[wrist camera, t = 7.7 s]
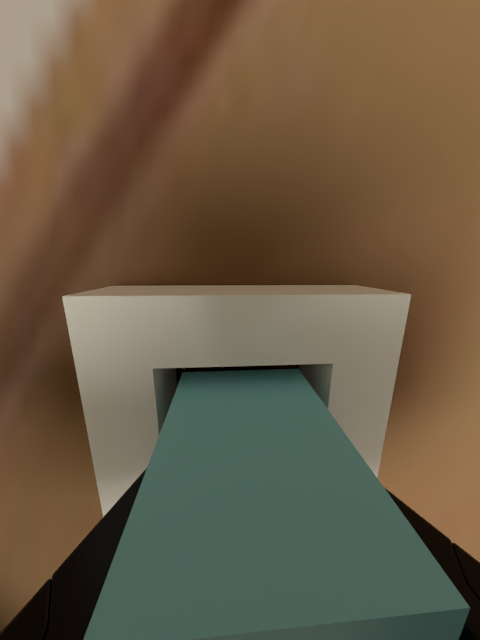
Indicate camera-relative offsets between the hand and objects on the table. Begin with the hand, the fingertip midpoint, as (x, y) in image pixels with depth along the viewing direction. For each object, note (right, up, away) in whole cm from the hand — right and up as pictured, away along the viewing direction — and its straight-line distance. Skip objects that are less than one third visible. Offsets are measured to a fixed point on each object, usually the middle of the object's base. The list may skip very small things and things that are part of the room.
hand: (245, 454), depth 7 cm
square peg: (0, 0, +1) cm, 2 cm away
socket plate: (0, -4, +5) cm, 6 cm away
